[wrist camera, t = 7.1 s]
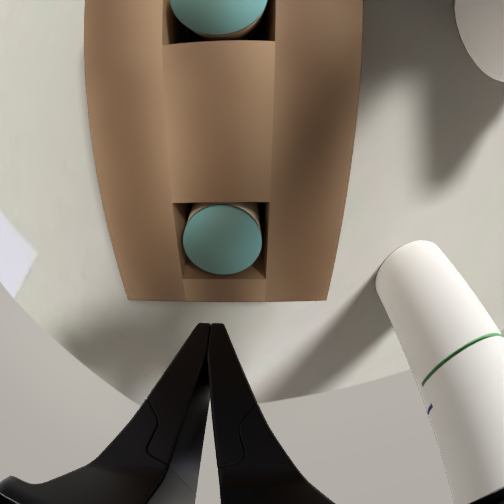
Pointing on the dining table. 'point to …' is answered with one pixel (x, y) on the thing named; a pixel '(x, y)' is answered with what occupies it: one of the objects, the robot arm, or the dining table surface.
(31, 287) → the dining table surface
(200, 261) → the peg
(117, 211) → the socket block
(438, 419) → the cylindrical container
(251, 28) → the peg
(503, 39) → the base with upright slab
